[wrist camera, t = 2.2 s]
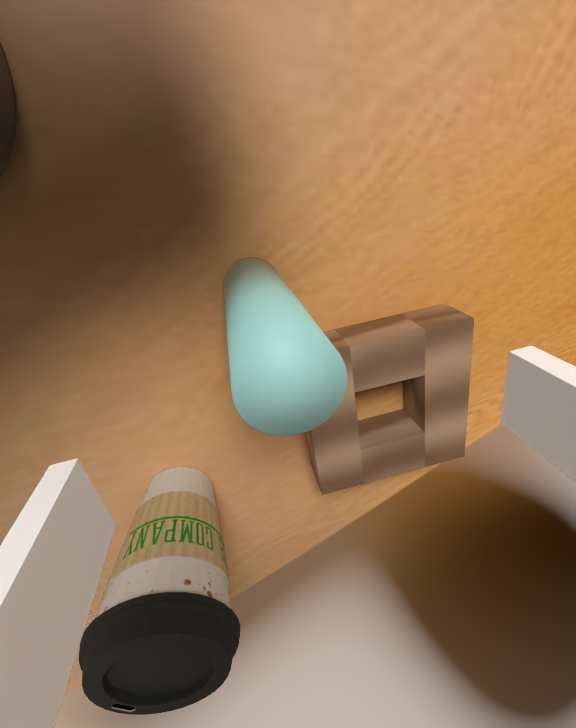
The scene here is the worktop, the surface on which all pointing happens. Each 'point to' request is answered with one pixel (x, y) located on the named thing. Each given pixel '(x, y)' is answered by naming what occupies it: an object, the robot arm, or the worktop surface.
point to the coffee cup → (164, 605)
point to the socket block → (421, 397)
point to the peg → (277, 354)
